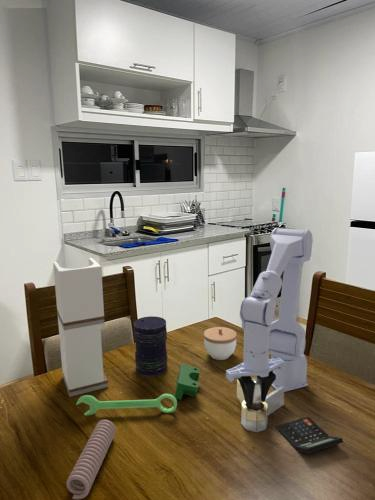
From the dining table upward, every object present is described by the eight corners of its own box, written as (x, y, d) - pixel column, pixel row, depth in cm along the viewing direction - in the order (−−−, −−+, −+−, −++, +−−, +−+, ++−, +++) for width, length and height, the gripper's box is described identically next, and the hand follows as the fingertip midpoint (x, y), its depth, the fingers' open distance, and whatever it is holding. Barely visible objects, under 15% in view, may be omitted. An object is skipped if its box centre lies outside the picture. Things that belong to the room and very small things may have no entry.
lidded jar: (238, 363, 120) (238, 335, 118) (204, 363, 120) (204, 335, 119) (234, 348, 131) (235, 322, 129) (203, 348, 131) (203, 322, 129)
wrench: (76, 418, 95) (74, 399, 94) (78, 413, 97) (76, 394, 96) (177, 414, 96) (177, 395, 95) (177, 409, 98) (176, 390, 97)
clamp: (191, 411, 103) (198, 393, 98) (171, 406, 103) (177, 388, 99) (196, 377, 112) (203, 359, 108) (178, 372, 112) (183, 354, 108)
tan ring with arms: (266, 389, 106) (267, 372, 105) (299, 419, 93) (300, 400, 92) (221, 400, 101) (221, 383, 100) (250, 434, 88) (250, 414, 87)
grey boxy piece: (108, 386, 108) (101, 266, 101) (69, 396, 104) (59, 271, 96) (98, 368, 118) (91, 257, 111) (62, 376, 114) (53, 262, 106)
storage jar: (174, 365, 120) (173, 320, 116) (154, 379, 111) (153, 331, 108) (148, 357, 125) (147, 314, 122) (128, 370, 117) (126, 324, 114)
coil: (95, 417, 88) (61, 479, 71) (115, 417, 87) (85, 479, 70) (99, 435, 89) (66, 501, 72) (118, 435, 88) (90, 501, 71)
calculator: (307, 419, 94) (308, 408, 93) (342, 451, 83) (343, 439, 83) (275, 429, 91) (275, 417, 90) (306, 463, 80) (307, 450, 79)
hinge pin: (256, 403, 93) (257, 377, 92) (263, 410, 90) (264, 383, 89) (245, 406, 92) (246, 380, 90) (252, 413, 89) (253, 386, 88)
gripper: (237, 362, 82) (236, 419, 84) (293, 349, 87) (290, 403, 90) (221, 348, 88) (221, 401, 91) (275, 337, 93) (273, 388, 96)
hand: (254, 401), depth 91 cm, fingers closed on hinge pin, 3 cm apart
